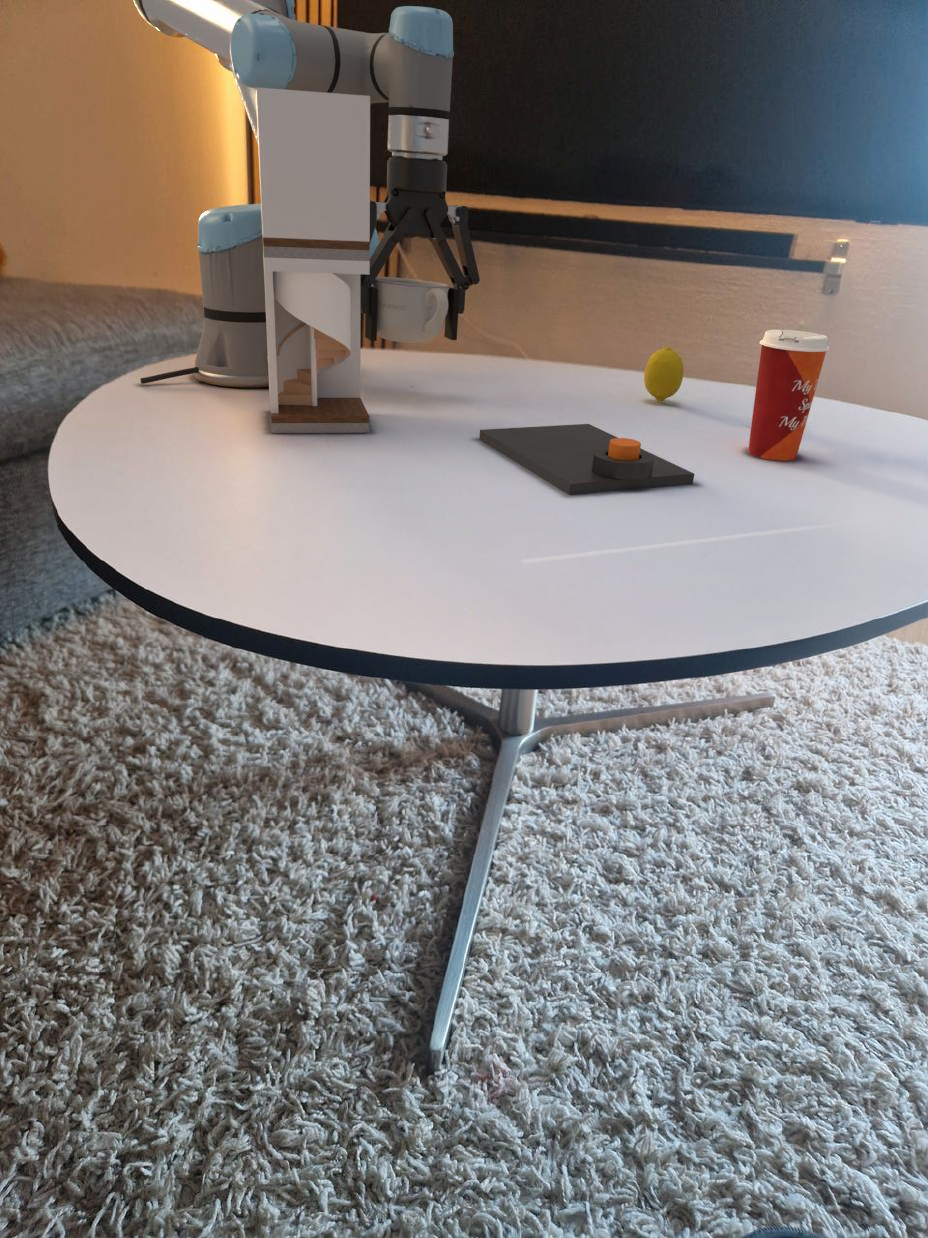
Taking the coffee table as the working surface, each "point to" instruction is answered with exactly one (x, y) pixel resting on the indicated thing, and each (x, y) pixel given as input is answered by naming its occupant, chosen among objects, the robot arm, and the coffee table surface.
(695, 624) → the coffee table surface
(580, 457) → the scale
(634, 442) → the button
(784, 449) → the paper cup
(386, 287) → the teacup
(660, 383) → the lemon
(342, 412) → the spiral staircase model
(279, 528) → the coffee table surface
